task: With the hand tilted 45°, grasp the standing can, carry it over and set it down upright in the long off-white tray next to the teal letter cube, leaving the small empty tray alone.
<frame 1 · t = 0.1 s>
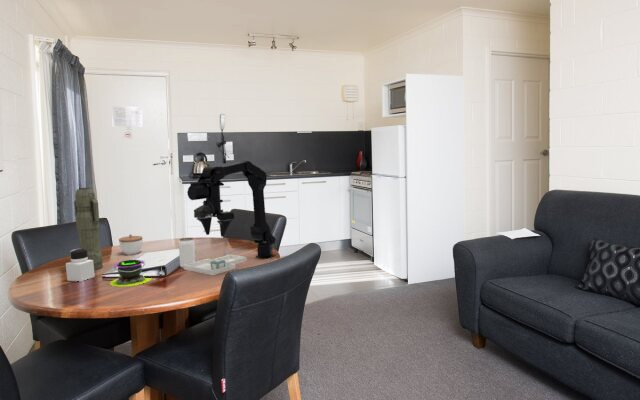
hand: (215, 235, 191), 15 cm above the table, tool pointing down, fingers open, 9 cm apart
thermos: (92, 268, 204), on the table
lidded jar: (131, 253, 232), on the table
can: (188, 266, 202), on the table
medicine bottle: (81, 279, 188), on the table
small tray: (230, 263, 205), on the table
toy cauldron: (130, 281, 182), on the table
letter cube: (218, 270, 191), resting on long tray
long tray: (209, 269, 195), on the table
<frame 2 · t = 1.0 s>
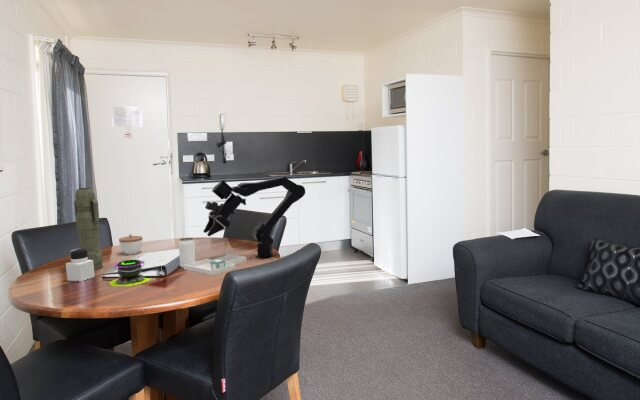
hand: (206, 233, 203), 13 cm above the table, tool tilted 45°, fingers open, 9 cm apart
nothing on the table moved.
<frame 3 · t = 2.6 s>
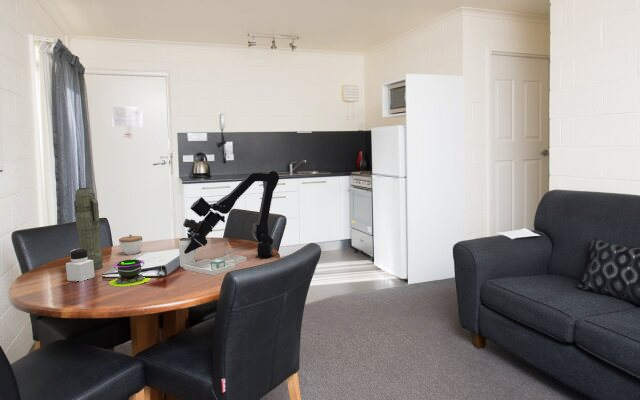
hand: (183, 251, 201), 7 cm above the table, tool tilted 45°, fingers closed on can, 6 cm apart
can: (188, 266, 202), on the table, touching gripper
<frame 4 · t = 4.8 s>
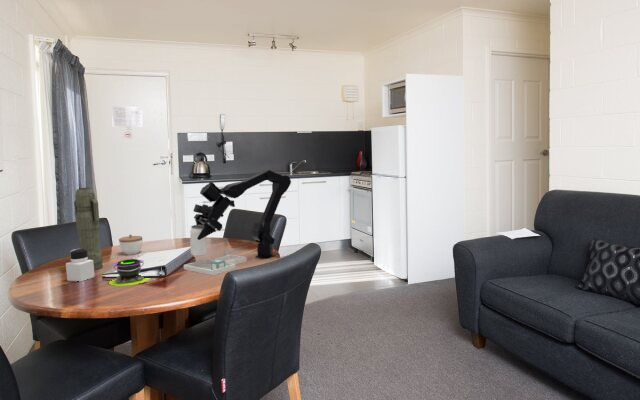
hand: (195, 238, 196), 13 cm above the table, tool tilted 45°, fingers closed on can, 6 cm apart
can: (198, 254, 198), point 6 cm above the table, touching gripper
when the fingers open (8 cm above the table, at t = 6.8 s): can stays where it is, resting on long tray.
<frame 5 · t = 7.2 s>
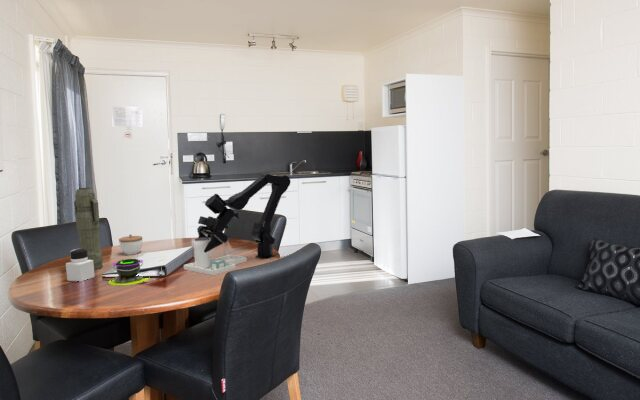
hand: (199, 250, 195), 8 cm above the table, tool tilted 45°, fingers open, 9 cm apart
can: (203, 267, 198), resting on long tray
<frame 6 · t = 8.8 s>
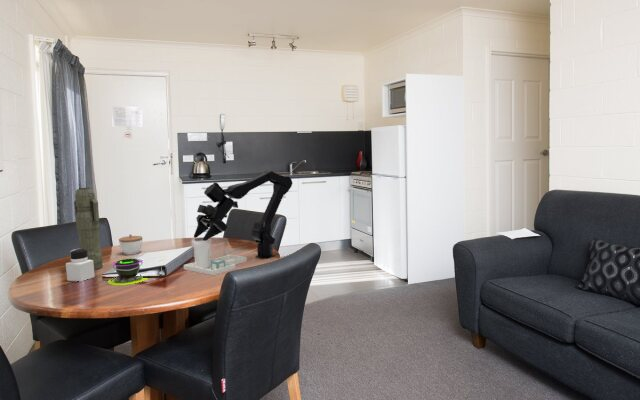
hand: (199, 238, 195), 13 cm above the table, tool tilted 45°, fingers open, 9 cm apart
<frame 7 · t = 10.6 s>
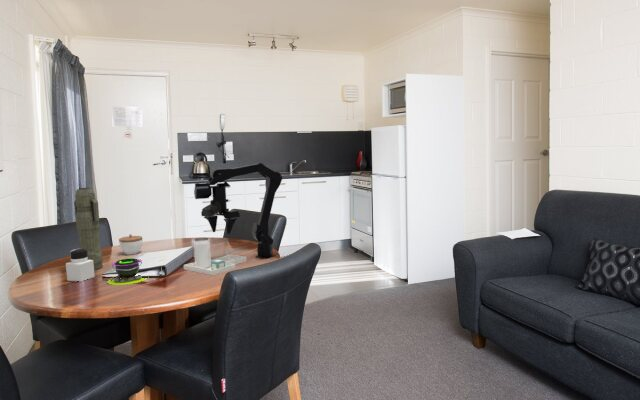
hand: (221, 232, 206), 13 cm above the table, tool pointing down, fingers open, 9 cm apart
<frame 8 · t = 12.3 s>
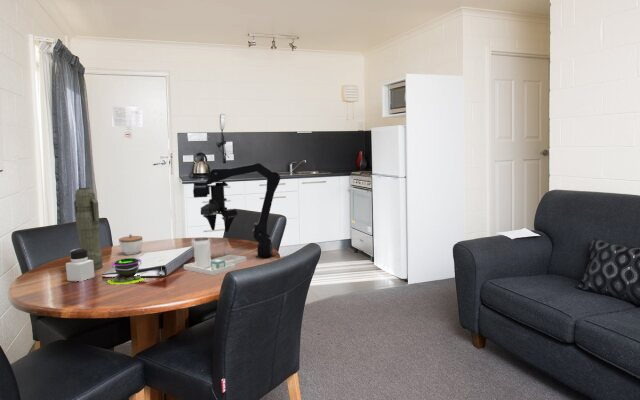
hand: (219, 231, 211), 13 cm above the table, tool pointing down, fingers open, 9 cm apart
at the end: can inside the target area (1.5 cm from its centre), resting on long tray; can tilted 0°; letter cube moved 0.0 cm from its start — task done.
